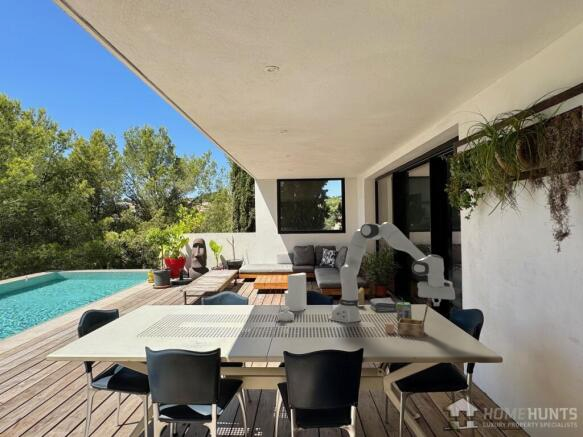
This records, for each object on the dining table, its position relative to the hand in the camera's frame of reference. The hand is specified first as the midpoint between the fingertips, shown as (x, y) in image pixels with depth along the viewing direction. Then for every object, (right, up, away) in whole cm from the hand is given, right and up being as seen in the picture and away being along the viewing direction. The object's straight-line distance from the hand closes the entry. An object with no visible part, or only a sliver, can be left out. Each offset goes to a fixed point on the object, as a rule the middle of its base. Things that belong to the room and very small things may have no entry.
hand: (436, 305), depth 200 cm
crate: (-13, -18, +6) cm, 23 cm away
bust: (-89, -20, +35) cm, 98 cm away
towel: (-13, -20, +66) cm, 70 cm away
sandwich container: (-35, -21, +77) cm, 87 cm away
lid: (-5, -4, +3) cm, 7 cm away
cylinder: (-82, -21, +71) cm, 110 cm away
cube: (-25, -19, +9) cm, 32 cm away
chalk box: (-8, -19, +35) cm, 40 cm away
